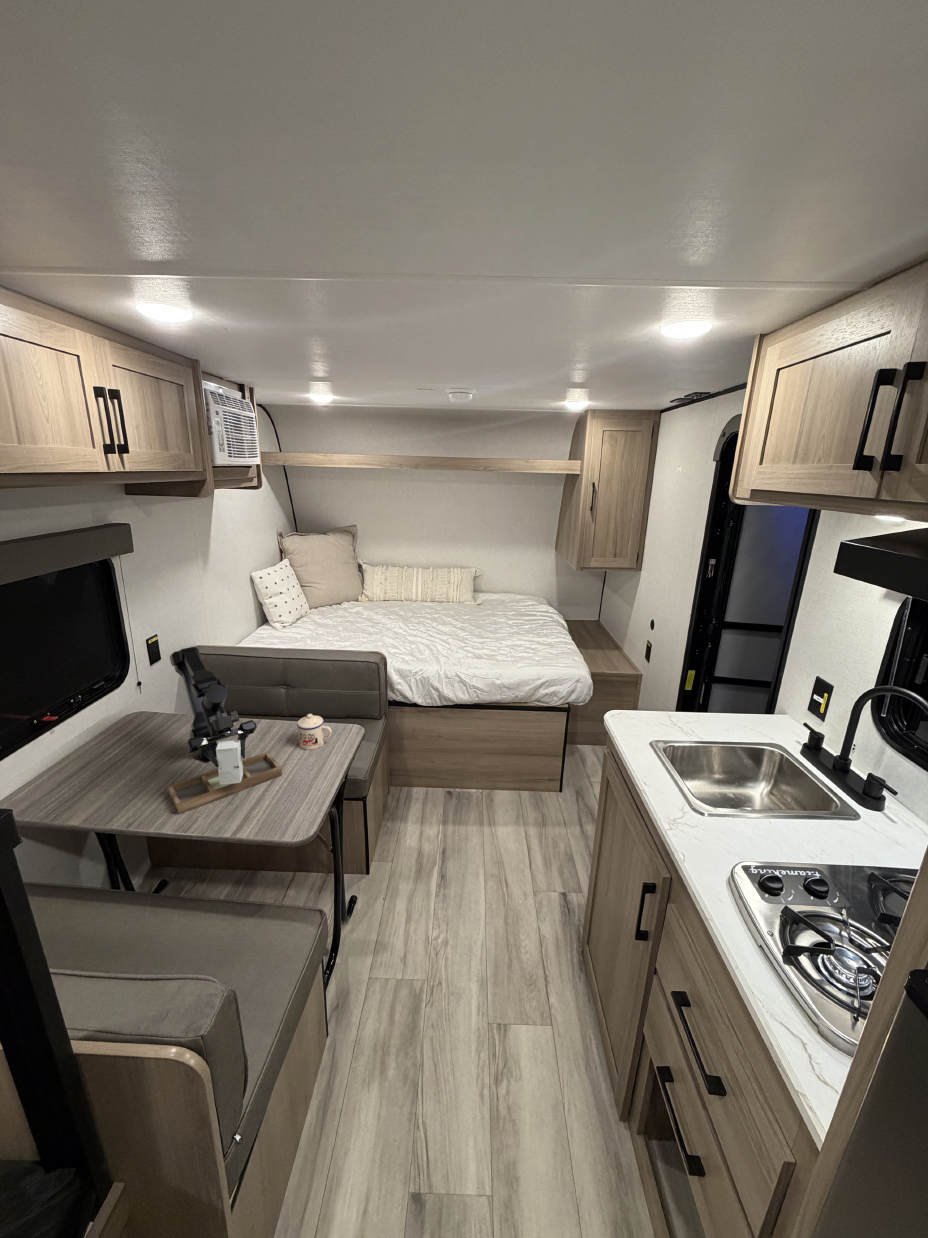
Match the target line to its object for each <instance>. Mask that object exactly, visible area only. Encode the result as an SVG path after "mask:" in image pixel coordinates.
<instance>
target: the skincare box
mask: <svg viewBox="0 0 928 1238" xmlns="http://www.w3.org/2000/svg"><path fill="white" fill-rule="evenodd" d="M216 755H217V757H216V759H217V762H218V765H219V767H218V768H217V769H218V773H219V782H220V784H234V783H240V782H241V780H242V777H243V767H242V760H243V758H242V755H241V746H240V740H238V741H237V740H225V741H219V742H217V748H216Z"/></svg>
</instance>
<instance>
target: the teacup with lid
mask: <svg viewBox="0 0 928 1238" xmlns="http://www.w3.org/2000/svg"><path fill="white" fill-rule="evenodd" d="M324 722H325V721H324V718H323V717H321V716H320V715H315V714H314V715H313V714H312V713H308V714H306V716H303V717H301V718H300V719H299V720H298V721H297V724H296V726H297V730H298V743H299V746H300V747H299V748H300V749H303V750H306V751H312V750H316V749H319V748H321V747H323V745H325V741H326V740H329V739H330V737H332V734H333V731H332V730H333V729H331V727H330V726H328V725H326V726H325V725H324ZM325 730H327V731H328V732H329V733H328V734H329V735H327V736H325Z"/></svg>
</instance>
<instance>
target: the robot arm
mask: <svg viewBox="0 0 928 1238" xmlns="http://www.w3.org/2000/svg"><path fill="white" fill-rule="evenodd" d="M169 660H170V665H171V666H172V667H173V668H174V670H175V672H176V673H177V674H178V675H179V676H180V677H182V679H183V683H184V686H185V690H186V693H187V697H188V700H189V704H190V706H191V711H192V714H193V720H192V722H191V725H190V726H191V727H190V728H191V730H190V732H189V738H188V739H187V743H186V749H187V753H188V754H191V753H195V752H197V754H196V755H195V756H194V757H193V759H195V760H198V761H201V762H203V763H209V762H211V763H212V764H213V765H214V766H215V767H216V769H218V767H219V765H218V762H217V755H216V748H217V745H218V742H217V741H220V740H224V739H228V738H231V737H234V736H236V735H237V740H236V741H238V740H240V746H241V757H242V760H245V759H246V740H247V739H248V737H249V735H252V734H254V733H255V731H256V729H257V724H256V722H255V720H253V719H251V720H247V721H244V722H240V716H239V714H238V711H237V710H234V711H230V712H229V713H227V712H226V710H225V707H224V705H225V702H226V700H227V697H228V690H227V688H226V685H225V684H224V683H223V681H221V680H220V679H219V678H218V677H217V676H216V674H215V673H214V672H212V671H210V670H208V669H207V668H206V666H205V664H204V663H203V661H202V657H201V654H200V650H199V648H197V647H196V646H190V647H184V648H180V649H179V650H177V651H173V652H172V653H171V654H170V655H169ZM228 714H229V715H228ZM237 722H240V724H239V726H238V727H236V728H234V726H235V725H234V723H237Z"/></svg>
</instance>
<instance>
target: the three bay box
mask: <svg viewBox="0 0 928 1238" xmlns="http://www.w3.org/2000/svg"><path fill="white" fill-rule="evenodd" d="M242 767H243V777H242V780H241V782H240V783H234V784H220V782H219V773H218V768H215V769H214V770H211V771H207V772H205V773H201V774H199V775H196V776H193V777H190V778H187V779H185V780H182V781H179V782H176V783H172V784H170V785H167V789H168V795H169V796H170V798H171V801H172V803H173V805H174V808H175V809H176V811H177V814H178V815H182V814H184V813H187V812H189V811H192V810H195V809H197V808H201V807H202V806H205V805H208V804H210V803H211V804H212V803H214V802H215V801H218V800H221V799H225V798H226V797H229V796H231V795H234V794H238V793H239V792H241V791H244V790H247V789H250V788H253V787H255V786H257V785H260V784H262V783H265V782H268V781H271V780H274V779H276V778H279V777H281V776H283V771H282V766H281V765H280V764H279V763H278V761H276V759H274V757H273V756H272V755H271V753H269V751H265V752H263V753H260V754H257V755H254V756H250V757H247V758H244V759H242Z"/></svg>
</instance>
